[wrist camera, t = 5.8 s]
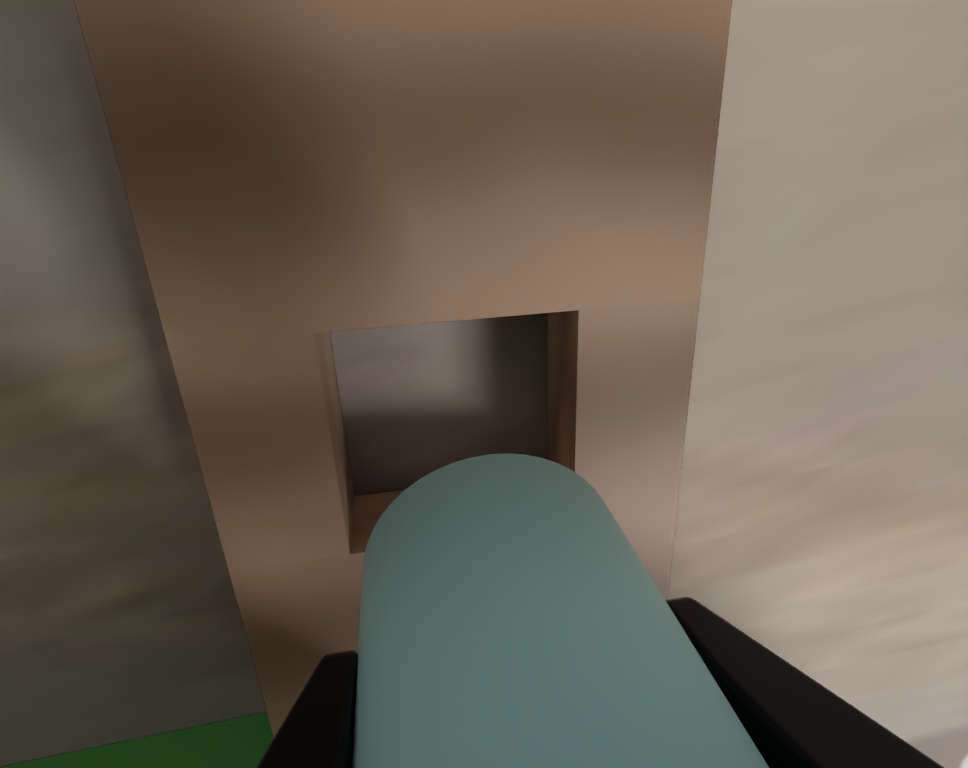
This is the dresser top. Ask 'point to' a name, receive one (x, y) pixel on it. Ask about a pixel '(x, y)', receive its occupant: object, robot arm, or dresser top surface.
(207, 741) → the hardback book
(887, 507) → the dresser top surface
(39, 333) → the dresser top surface
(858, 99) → the dresser top surface
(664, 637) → the teal peg
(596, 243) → the rail
